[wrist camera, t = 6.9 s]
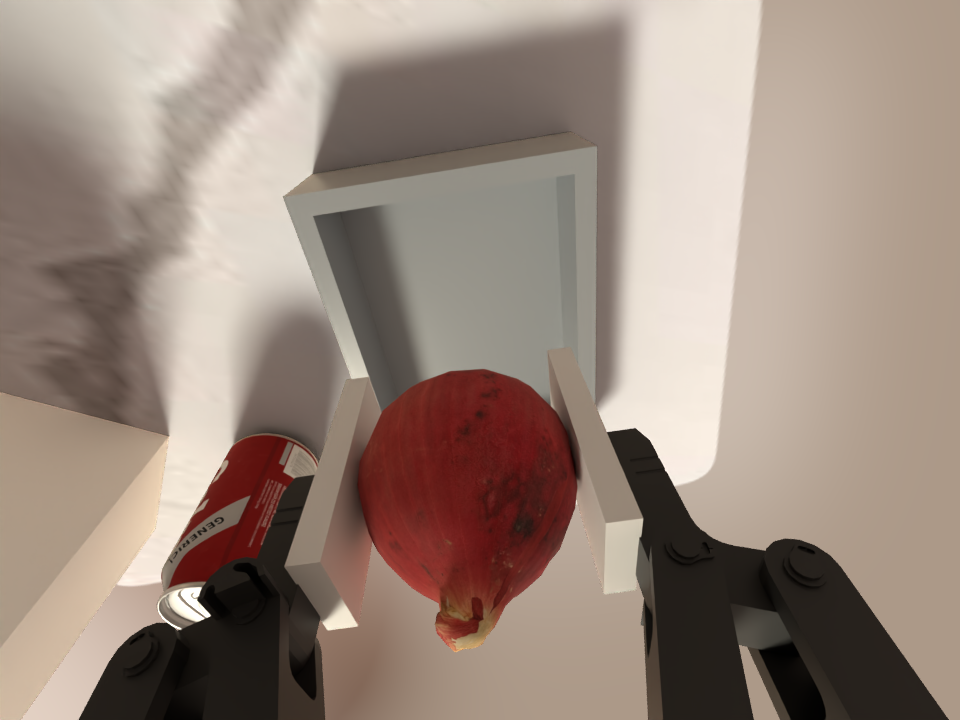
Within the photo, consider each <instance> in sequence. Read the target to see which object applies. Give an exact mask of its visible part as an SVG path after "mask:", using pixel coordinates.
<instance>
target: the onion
mask: <svg viewBox="0 0 960 720" xmlns="http://www.w3.org/2000/svg"><path fill="white" fill-rule="evenodd" d="M357 485H358V490H359V495H360V501H361V506H362V511H363V516H364V519H365V522H366V526H367V529H368V533H369V535H370V537H371V539H372V541H373V543H374V545H375V547H376V549H377V551H378V552H379V553H380V555H381V556H382V557H383V559H384V560H385V561H386V563H387V564H388V565H389V566H390V567H391V568H392V569H393V570H394V571H395V572H396V573H397V574H398V575H399V576H400V577H401V578H402V579H403V580H404V581H405V582H406V583H407V584H408V585H409V586H411V587H412V588H413V589H414V590H416V591H418V592H419V593H421V594H422V595H424V596H426V597H428V598H430V599H432V600H434V601H436V602H437V603H439V607H440V612H439V613H438V614H437V617H436V622H435V626H436V631H437V634H438V635H439V636H440V637H441V639H443V641H444V642H445V643H446V644H447V645H448V646H449V647H450V648H451V649H452V650H453V651H454V652H457V651H460V650H463V649H465V648H467V649H471V648H475V647H478V646H480V645H482V644H483V642H484V640H485V638H486V636H487V635H488V634H489V633H490V632H491V631H492V629H493V628H494V627H495V625H496V623H497V621H498V620H499V618H500V615H501V614H502V612H503V610H504V608H505V606H506V605H507V604H508V603H509V602H510V601H511V600H512V599H513V598H514V597H516V596H518V595H519V594H520V593H521V592H523V591H524V590H525V589H526V588H528V587H529V586H530V585H531V584H532V583H533V582H534V581H535V580H536V579H538V578H539V577H540V576H541V575H542V573H543V571H544V570H545V568H546V566H547V565H548V563H549V561H550V560H551V559H552V558H553V557H554V556H555V554H556V553H557V552H558V551H559V549H560V547H561V544H562V542H563V539H564V536H565V533H566V531H567V528H568V525H569V523H570V520H571V517H572V515H573V512H574V509H575V504H576V496H577V487H578V486H577V479H576V473H575V467H574V462H573V456H572V452H571V447H570V443H569V438H568V434H567V431H566V429H565V427H564V425H563V423H562V421H561V419H560V418H559V416H558V414H557V412H556V411H555V410H554V409H553V408H552V407H551V406H550V405H549V404H548V403H547V402H546V401H545V400H544V399H543V398H542V397H541V396H540V395H539V394H538V393H537V392H536V391H535V390H534V389H533V388H532V387H531V386H529V385H527V384H526V383H524V382H522V381H521V380H519V379H517V378H513V377H510V376H507V375H504V374H500V373H497V372H494V371H490V370H487V369H474V370H459V371H449V372H446V373H444V374H441V375H438V376H435V377H433V378H430V379H427V380H424V381H422V382H419V383H418V384H416V385H414V386H412V387H410V388H409V389H408V390H406V391H405V392H404V393H403V394H402V395H401V396H399V397H398V398H397V399H396V400H395V401H394V402H392V403H391V404H390V405H389V406H388V407H387V408H385V409H384V410H383V411H382V413H381V415H380V417H379V420H378V422H377V424H376V426H375V428H374V431H373V433H372V435H371V437H370V440H369V442H368V444H367V446H366V448H365V451H364V453H363V455H362V457H361V459H360V463H359V473H358V483H357Z"/></svg>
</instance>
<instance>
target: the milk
mask: <svg viewBox="0 0 960 720" xmlns="http://www.w3.org/2000/svg"><path fill="white" fill-rule="evenodd" d="M168 441H169V436H166V435H162V434H159V433H155V432H151V431H147V430H143V429H139V428H136V427H132V426H128V425H124V424H120V423H116V422H113V421H109V420H105V419H101V418H97V417H93V416H90V415H86V414H82V413H78V412H74V411H71V410H67V409H63V408H59V407H55V406H51V405H48V404H44V403H40V402H36V401H32V400H28V399H25V398H21V397H17V396H13V395H9V394H5V393H2V392H0V720H21V719H22V718H23V716H24V715H25V713H26V712H27V711H28V709H29V708H30V706H31V705H32V703H33V702H34V701H35V699H36V698H37V696H38V695H39V693H40V692H41V691H42V689H43V688H44V686H45V685H46V683H47V682H48V681H49V679H50V678H51V676H52V675H53V674H54V672H55V671H56V669H57V668H58V666H59V665H60V663H61V662H62V661H63V659H64V658H65V656H66V655H67V654H68V652H69V651H70V649H71V648H72V647H73V645H74V644H75V642H76V640H77V639H78V638H79V637H80V635H81V634H82V632H83V631H84V630H85V628H86V627H87V625H88V624H89V622H90V621H91V620H92V618H93V617H94V615H95V614H96V612H97V611H98V609H99V608H100V607H101V605H102V604H103V603H104V601H105V600H106V598H107V597H108V595H109V594H110V592H111V591H112V590H113V588H114V587H115V585H116V584H117V583H118V581H119V580H120V578H121V577H122V575H123V574H124V573H125V571H126V570H127V568H128V567H129V566H130V564H131V563H132V561H133V560H134V558H135V557H136V556H137V554H138V553H139V551H140V550H141V548H142V547H143V546H144V544H145V543H146V541H147V540H148V539H149V537H150V536H151V534H152V533H153V531H154V530H155V529H156V522H157V515H158V508H159V502H160V495H161V488H162V481H163V475H164V468H165V461H166V454H167V448H168Z"/></svg>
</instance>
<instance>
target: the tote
mask: <svg viewBox="0 0 960 720" xmlns="http://www.w3.org/2000/svg"><path fill="white" fill-rule="evenodd" d="M283 198H284V201H285V204H286V206H287V209H288V212H289V214H290V217H291V220H292V222H293V225H294V227H295V230H296V233H297V235H298V238H299V241H300V243H301V246H302V249H303V251H304V254H305V257H306V259H307V262H308V265H309V267H310V270H311V272H312V275H313V278H314V280H315V283H316V286H317V288H318V291H319V294H320V296H321V299H322V302H323V304H324V307H325V310H326V312H327V315H328V318H329V320H330V323H331V325H332V328H333V331H334V333H335V336H336V339H337V341H338V344H339V347H340V349H341V352H342V355H343V357H344V360H345V363H346V365H347V368H348V370H349V373H350V376H351V378H352V379H356V378H363V377H369V379H370V382H371V385H372V387H373V390H374V393H375V396H376V399H377V402H378V405H379V408H380V410H381V413H382V411H383V410H384V409H385V408H387V407H388V406H389V405H390V404H391V403H392V402H394V401H395V400H396V399H397V398H398V397H399V396H401V395H402V394H403V393H404V392H405V391H406V390H408V389H409V388H410V387H412V386H414V385H416V384H418V383H419V382H422V381H424V380H427V379H430V378H433V377H435V376H438V375H441V374H444V373H446V372H449V371H459V370H474V369H487V370H490V371H494V372H497V373H500V374H504V375H507V376H510V377H513V378H517V379H519V380H521V381H522V382H524V383H526V384H527V385H529V386H531V387H532V388H533V389H534V390H535V391H536V392H537V393H538V394H539V395H540V396H541V397H542V398H543V399H544V400H545V401H546V402H547V403H548V404H549V405H550V406H551V399H550V384H549V369H548V354H547V350H552V349H558V348H565V347H571V349H572V352H573V354H574V356H575V359H576V361H577V363H578V366H579V368H580V371H581V373H582V375H583V378H584V380H585V382H586V385H587V387H588V389H589V392H590V394H591V396H592V399H593V401H594V403H595V386H596V238H597V146H596V145H594V144H593V143H591V142H589V141H587V140H585V139H584V138H582V137H580V136H578V135H576V134H575V133H573V132H565V133H559V134H553V135H547V136H541V137H535V138H529V139H523V140H516V141H510V142H504V143H498V144H492V145H486V146H480V147H474V148H468V149H462V150H456V151H449V152H443V153H437V154H431V155H425V156H419V157H413V158H407V159H401V160H395V161H388V162H382V163H376V164H370V165H364V166H358V167H352V168H346V169H340V170H334V171H328V172H321V173H315V174H312V175H310V176H309V177H308V178H306V179H305V180H304V181H303V182H301V183H300V184H299V185H298V186H296V187H295V188H294V189H293V190H291V191H290V192H289V193H288V194H286V195H285V196H284V197H283Z"/></svg>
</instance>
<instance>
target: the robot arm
mask: <svg viewBox="0 0 960 720" xmlns="http://www.w3.org/2000/svg"><path fill="white" fill-rule="evenodd" d="M547 354H548V369H549V384H550V399H551V407H552V408H553V409H554V410H555V411H556V412H557V414H558V416H559V418H560V419H561V421H562V423H563V425H564V427H565V429H566V431H567V434H568V438H569V443H570V447H571V452H572V456H573V462H574V467H575V473H576V479H577V486H578V487H577V496H576V500H577V504H578V507H579V510H580V514H581V517H582V520H583V524H584V528H585V531H586V535H587V538H588V541H589V545H590V548H591V552H592V555H593V559H594V562H595V566H596V569H597V573H598V576H599V580H600V583H601V586H602V590H603V594H610V593H618V592H626V591H634V590H636V583H637V580H638V583H639V585H640V588H641V591H642V594H643V597H644V604H643V612H642V620H641V625H643V626H644V640H645V641H644V643H645V663H646V683H647V705H648V720H754V719H753V714H752V709H751V704H750V699H749V695H748V689H747V684H746V679H745V674H744V669H743V664H742V659H741V654H740V649H739V645H742V646H747V647H748V649H749V651H750V654H751V656H752V658H753V660H754V663H755V665H756V667H757V669H758V671H759V673H760V676H761V678H762V680H763V683H764V685H765V687H766V689H767V691H768V693H769V696H770V698H771V700H772V702H773V705H774V707H775V709H776V711H777V714H778V716H779V718H780V720H949V719H948V718H947V717H946V715H945V714H944V712H943V711H942V710H941V708H940V707H939V705H938V704H937V702H936V701H935V700H934V698H933V697H932V696H931V694H930V693H929V691H928V690H927V688H926V687H925V686H924V684H923V683H922V681H921V680H920V679H919V677H918V676H917V674H916V673H915V671H914V670H913V669H912V667H911V666H910V665H909V663H908V661H907V660H906V659H905V657H904V656H903V654H902V653H901V652H900V650H899V649H898V647H897V646H896V645H895V643H894V642H893V640H892V639H891V637H890V636H889V635H888V633H887V632H886V630H885V629H884V628H883V626H882V625H881V623H880V622H879V620H878V619H877V618H876V616H875V615H874V613H873V612H872V610H871V609H870V608H869V606H868V605H867V604H866V602H865V601H864V599H863V598H862V596H861V595H860V593H859V592H858V591H857V589H856V588H855V586H854V585H853V584H852V582H851V581H850V579H849V578H848V577H847V575H846V574H845V572H844V571H843V569H842V568H841V567H840V566H839V565H838V563H836V561H835V560H834V559H833V558H832V557H831V556H830V555H829V554H827V553H825V552H824V551H823V550H821V549H820V548H818V547H816V546H815V545H812V544H810V543H807V542H804V541H801V540H795V539H782V540H778V541H775V542H773V543H772V544H771V545H770V546H769V547H768V548H767V549H766V551H763V550H757V549H751V548H745V547H739V546H733V545H729V544H725V543H722V542H720V541H718V540H715V539H713V538H712V537H710V536H709V535H707V534H706V533H705V532H704V531H702V530H700V528H699V527H698V526H697V525H696V524H695V523H694V521H693V520H692V519H691V517H690V515H689V513H688V511H687V510H686V508H685V506H684V504H683V502H682V500H681V498H680V496H679V494H678V493H677V491H676V489H675V487H674V485H673V483H672V481H671V479H670V477H669V476H668V474H667V472H666V471H665V468H664V466H663V464H662V462H661V461H660V459H659V458H658V455H657V453H656V451H655V449H654V447H653V445H652V444H651V442H650V440H649V439H648V438H646V437H645V436H644V435H643V434H642V433H640V432H639V431H638V430H637V429H636V428H634V429H627V430H620V431H612V432H606V429H605V427H604V425H603V422H602V420H601V418H600V415H599V413H598V411H597V408H596V406H595V403H594V401H593V399H592V396H591V394H590V392H589V389H588V387H587V385H586V382H585V380H584V378H583V375H582V373H581V371H580V368H579V366H578V363H577V361H576V359H575V356H574V354H573V352H572V349H571V347H565V348H558V349H552V350H547ZM380 415H381V410H380V408H379V405H378V402H377V399H376V396H375V393H374V390H373V387H372V385H371V382H370V379H369V377H363V378H356V379H349V380H346V382H345V385H344V388H343V391H342V394H341V397H340V400H339V403H338V406H337V409H336V412H335V415H334V418H333V421H332V424H331V427H330V430H329V433H328V436H327V440H326V443H325V446H324V449H323V452H322V455H321V458H320V461H319V464H318V467H317V470H316V473H315V475H309V476H302V477H295V478H294V480H293V481H292V482H291V483H290V484H289V486H288V487H287V488H286V489H285V491H284V492H283V493H282V495H281V498H280V500H279V503H278V505H277V508H276V513H274V516H273V518H272V521H271V523H270V524H271V526H270V527H269V528H268V531H267V533H266V536H265V539H264V541H263V544H262V546H261V549H260V551H259V554H258V556H257V559H256V558H250V557H244V558H239V559H235V560H233V561H231V562H229V563H227V564H225V565H223V566H222V567H221V568H219V569H218V570H217V571H216V572H215V573H214V574H212V575H211V576H210V577H209V579H208V580H207V582H206V583H205V584H204V586H203V587H202V588H201V591H200V594H199V596H198V599H197V601H198V602H199V603H200V604H201V605H202V607H203V608H204V609H205V610H206V611H207V612H208V613H209V614H210V615H211V616H210V617H207V618H205V619H203V620H201V621H198V622H196V623H194V624H192V625H189V626H187V627H185V628H183V629H180V630H178V631H177V630H176V629H175V628H174V627H172V626H171V625H170V624H168V623H155V624H152V625H150V626H147V627H144V628H143V629H141V630H140V631H138V632H137V633H135V634H134V635H132V636H131V637H130V638H129V639H128V640H126V641H125V642H124V643H123V644H122V646H120V647H119V648H118V650H117V651H116V653H115V654H114V656H113V657H112V658H111V660H110V661H109V663H108V665H107V667H106V669H105V671H104V672H103V674H102V676H101V678H100V680H99V682H98V684H97V686H96V688H95V690H94V691H93V693H92V695H91V697H90V699H89V701H88V703H87V705H86V707H85V709H84V711H83V713H82V714H81V716H80V718H79V720H325V707H324V689H323V672H322V654H321V647H320V644H319V641H318V639H317V638H316V634H317V629H318V625H319V621H320V620H321V621H322V623H323V624H324V625H325V627H326V628H327V630H334V629H341V628H349V627H356V626H359V619H360V614H361V608H362V602H363V595H364V589H365V583H366V577H367V571H368V565H369V559H370V552H371V547H372V539H371V537H370V535H369V533H368V529H367V526H366V522H365V519H364V516H363V511H362V506H361V501H360V495H359V490H358V485H357V483H358V473H359V463H360V459H361V457H362V455H363V453H364V451H365V448H366V446H367V444H368V442H369V440H370V437H371V435H372V433H373V431H374V428H375V426H376V424H377V422H378V420H379V417H380Z"/></svg>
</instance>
